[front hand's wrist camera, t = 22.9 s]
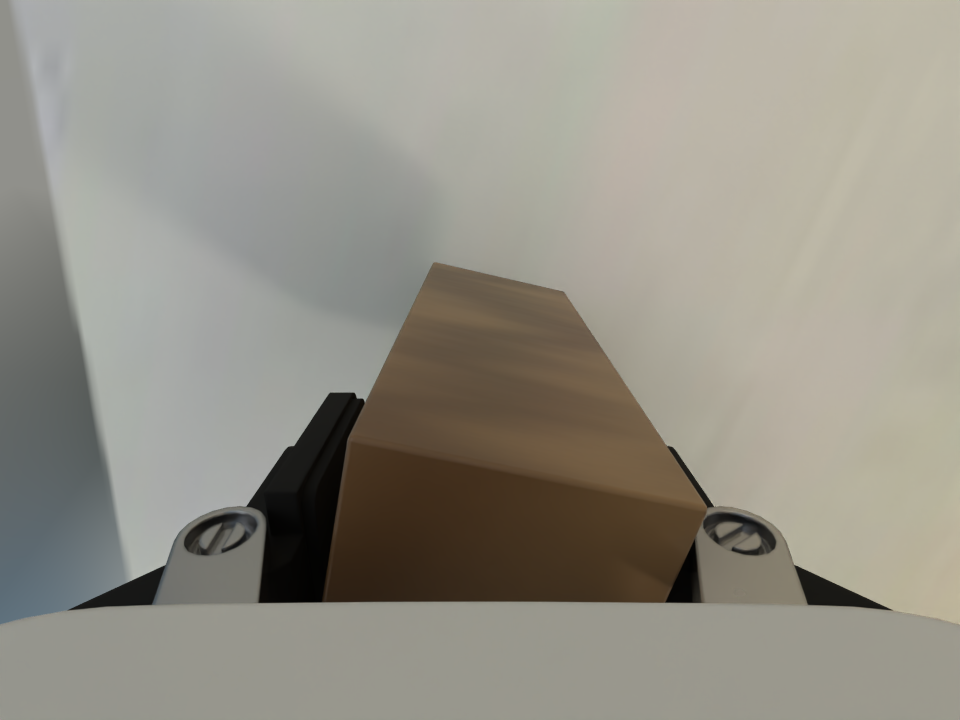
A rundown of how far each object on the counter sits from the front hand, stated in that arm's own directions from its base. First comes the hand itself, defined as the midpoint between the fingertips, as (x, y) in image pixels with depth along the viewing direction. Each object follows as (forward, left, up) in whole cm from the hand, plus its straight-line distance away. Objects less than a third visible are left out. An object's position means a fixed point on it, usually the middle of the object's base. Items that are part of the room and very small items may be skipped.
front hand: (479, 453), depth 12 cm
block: (0, 0, -7) cm, 7 cm away
